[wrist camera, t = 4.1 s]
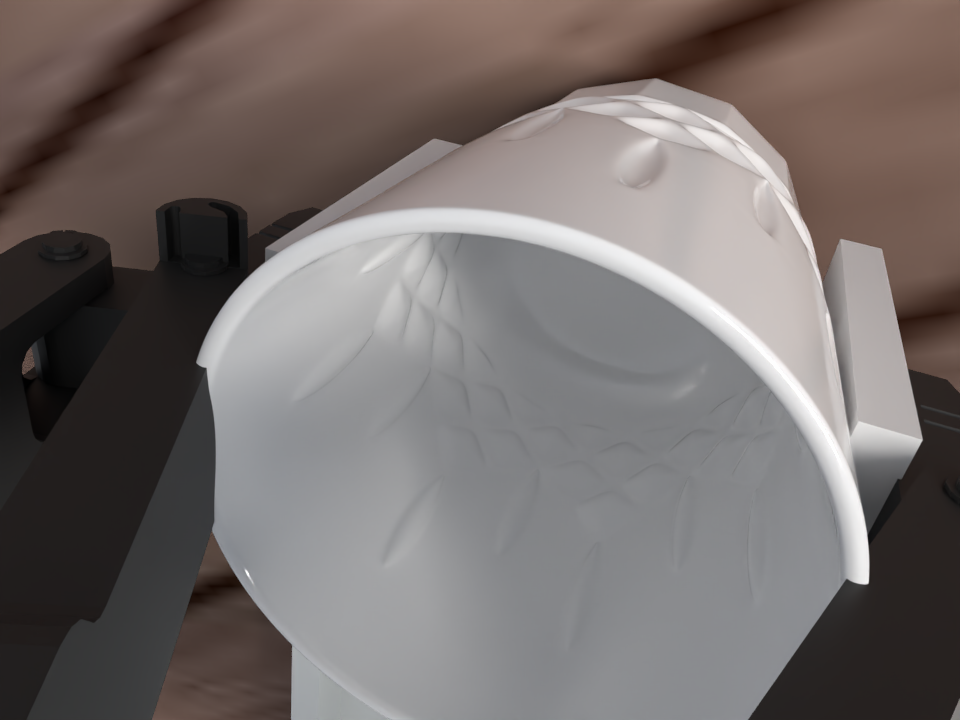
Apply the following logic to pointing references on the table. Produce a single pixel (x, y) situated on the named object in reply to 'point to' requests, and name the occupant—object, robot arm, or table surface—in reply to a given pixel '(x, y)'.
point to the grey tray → (342, 696)
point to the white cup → (546, 424)
